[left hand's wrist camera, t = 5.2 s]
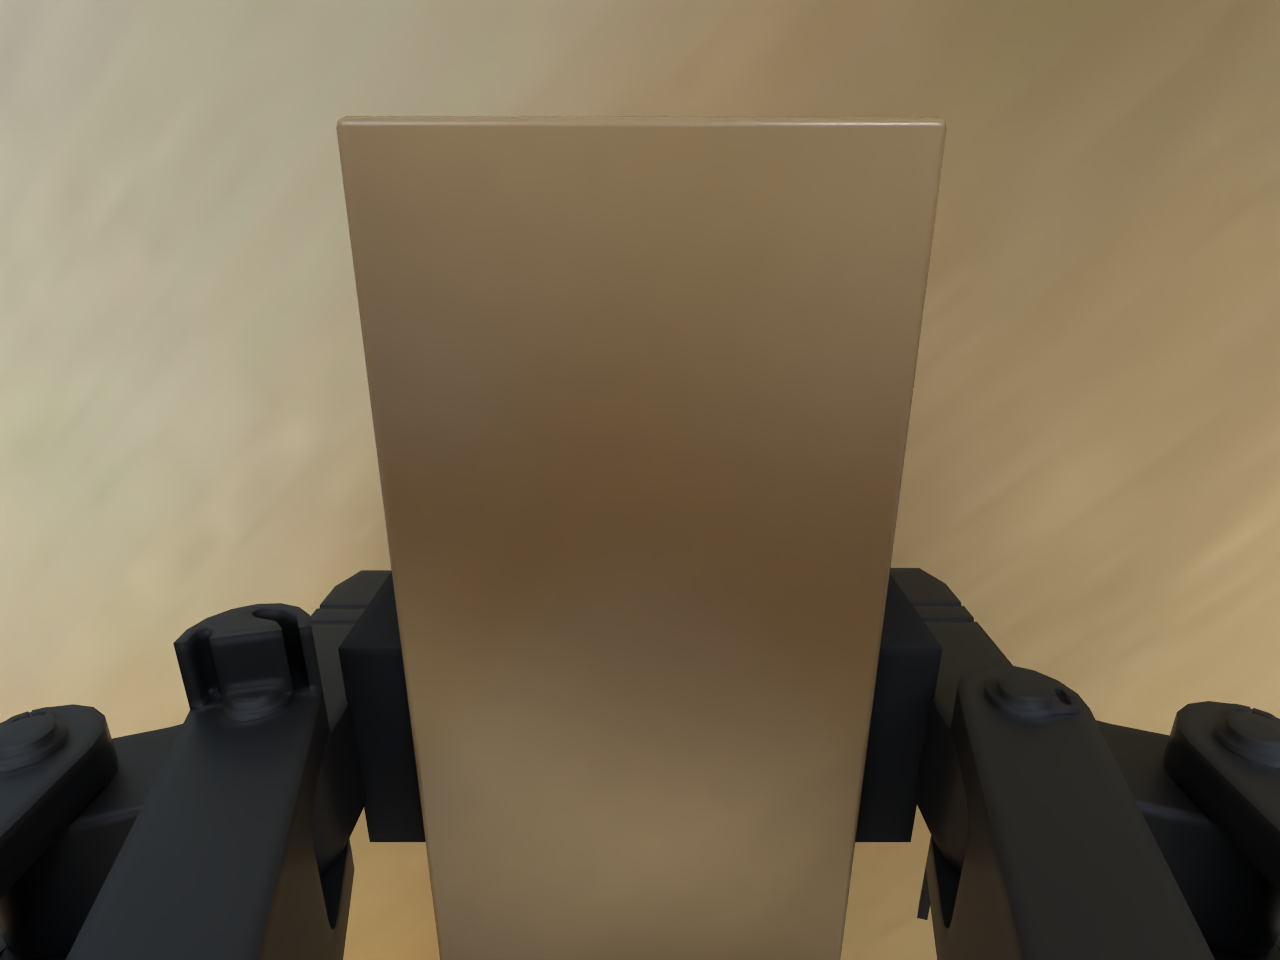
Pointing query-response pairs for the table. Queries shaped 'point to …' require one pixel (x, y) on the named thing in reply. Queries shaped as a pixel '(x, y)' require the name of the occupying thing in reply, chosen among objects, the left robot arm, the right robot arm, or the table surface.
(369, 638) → the left robot arm
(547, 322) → the bar
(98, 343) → the table surface
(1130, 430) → the table surface
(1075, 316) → the table surface
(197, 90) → the table surface
